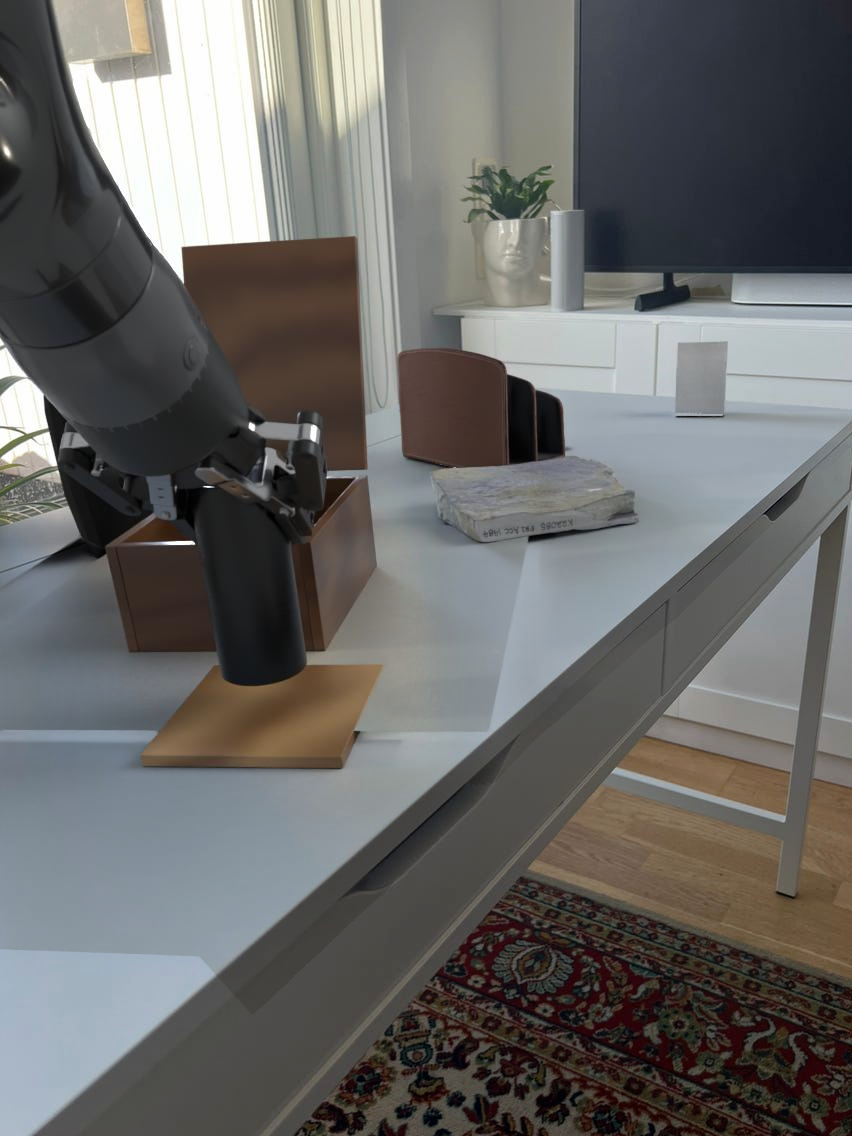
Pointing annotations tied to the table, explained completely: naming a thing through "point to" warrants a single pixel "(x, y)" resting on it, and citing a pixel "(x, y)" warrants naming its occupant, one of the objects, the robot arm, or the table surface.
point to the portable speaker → (89, 499)
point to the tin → (248, 588)
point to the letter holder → (474, 411)
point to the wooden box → (177, 591)
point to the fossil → (531, 498)
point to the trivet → (267, 721)
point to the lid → (290, 331)
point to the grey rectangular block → (701, 377)
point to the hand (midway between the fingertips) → (253, 530)
